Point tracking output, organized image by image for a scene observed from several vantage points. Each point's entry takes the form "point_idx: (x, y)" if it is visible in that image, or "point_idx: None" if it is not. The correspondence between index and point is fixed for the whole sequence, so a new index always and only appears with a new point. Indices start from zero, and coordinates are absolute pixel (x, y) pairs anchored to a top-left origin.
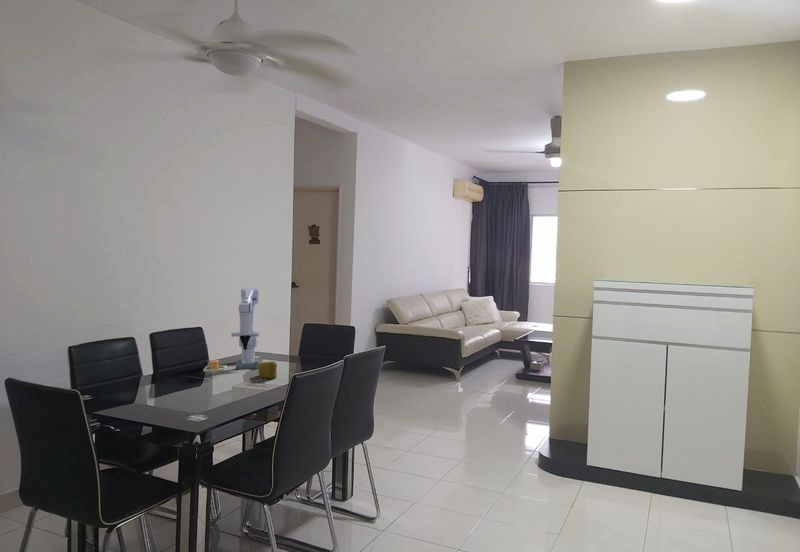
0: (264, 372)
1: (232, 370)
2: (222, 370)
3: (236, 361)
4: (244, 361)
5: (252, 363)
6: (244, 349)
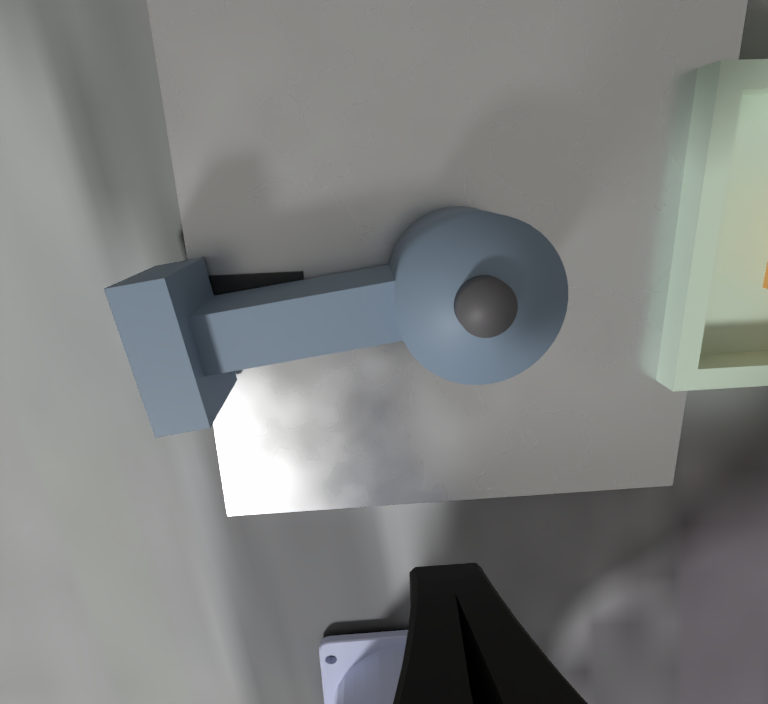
0: None
1: None
2: (733, 63)
3: (556, 300)
4: (403, 297)
5: (256, 303)
6: (462, 568)
